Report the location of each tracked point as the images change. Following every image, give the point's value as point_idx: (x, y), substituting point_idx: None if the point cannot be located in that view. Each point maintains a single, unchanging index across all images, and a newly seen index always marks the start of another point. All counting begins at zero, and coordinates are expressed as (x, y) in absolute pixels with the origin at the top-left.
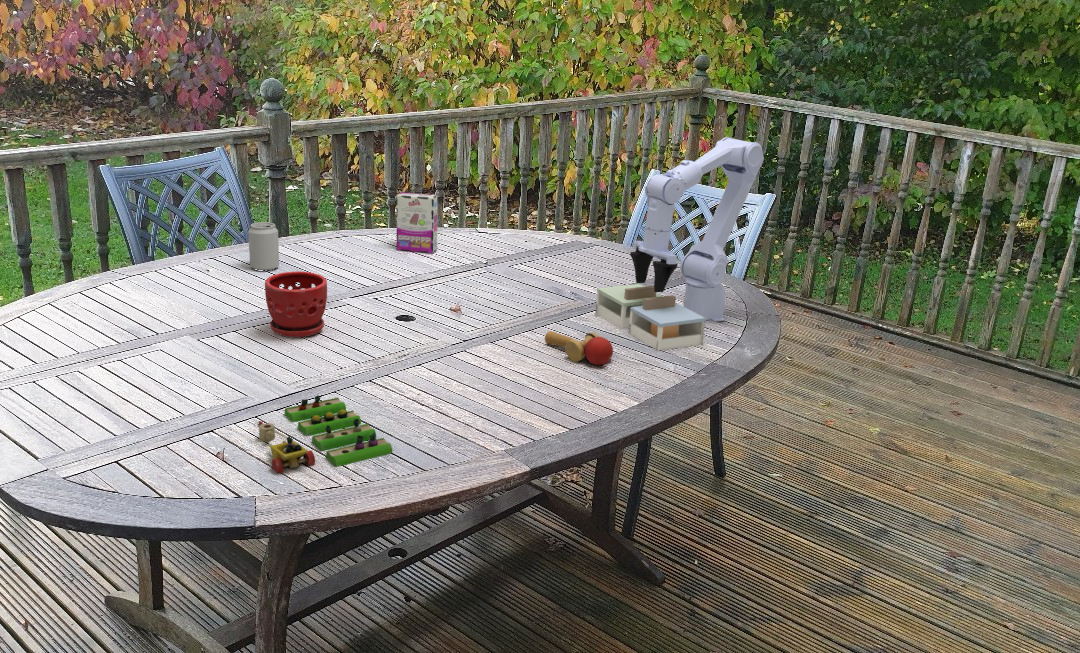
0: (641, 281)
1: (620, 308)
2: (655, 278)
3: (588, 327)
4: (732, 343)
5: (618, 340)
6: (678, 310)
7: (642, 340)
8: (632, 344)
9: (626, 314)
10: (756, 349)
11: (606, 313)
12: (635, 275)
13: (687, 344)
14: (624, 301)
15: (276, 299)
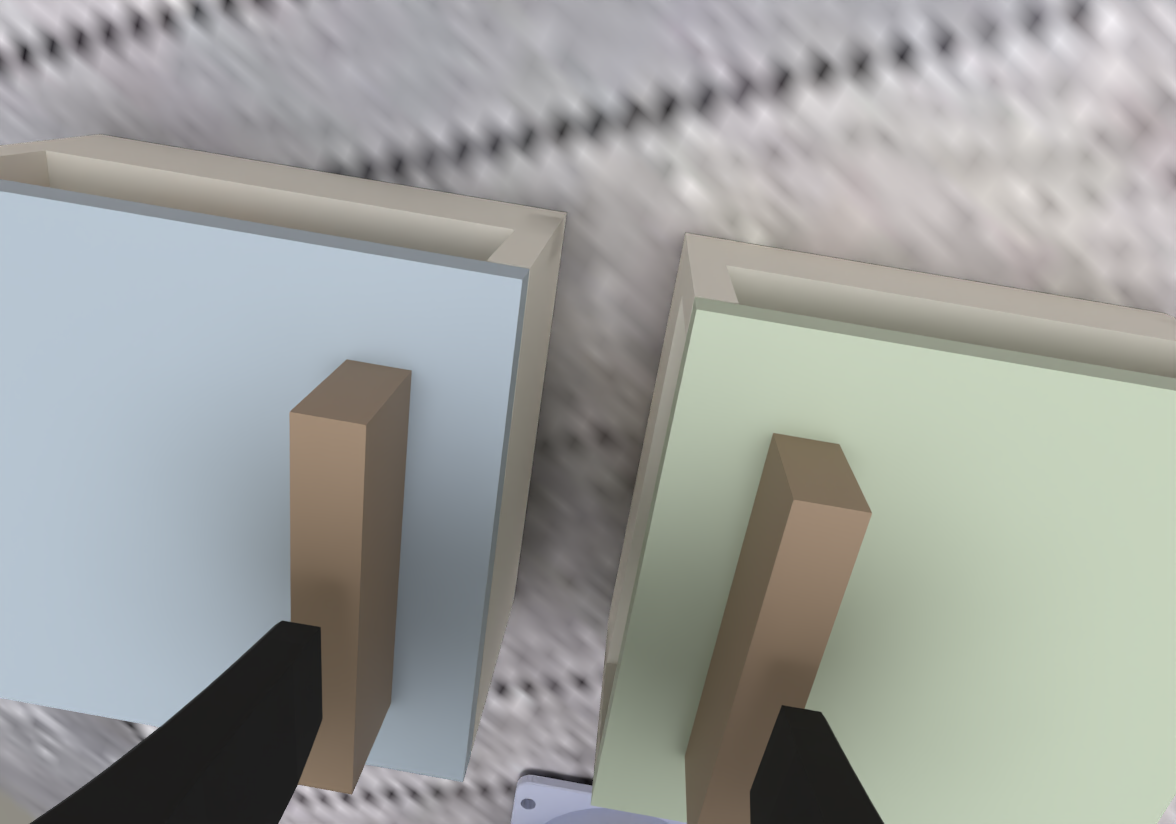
0: (767, 771)
1: None
2: (158, 778)
3: (970, 5)
4: (150, 725)
5: (512, 36)
6: (226, 648)
7: (326, 179)
8: (370, 89)
9: None
10: (24, 756)
11: (999, 302)
12: (863, 795)
13: None
14: (748, 367)
15: None
